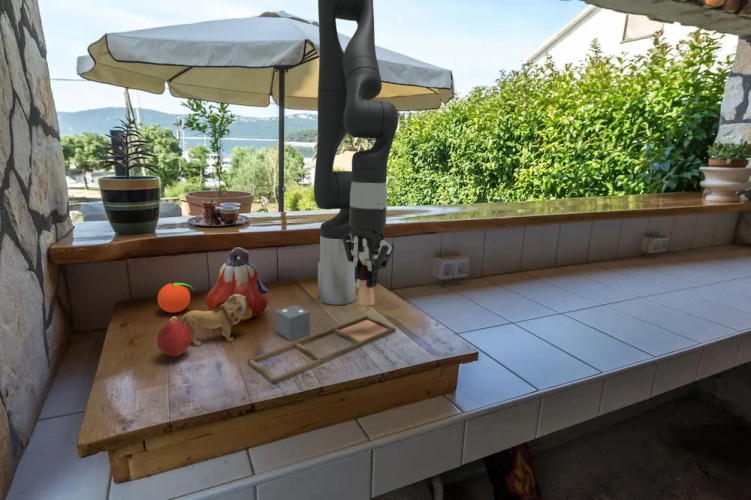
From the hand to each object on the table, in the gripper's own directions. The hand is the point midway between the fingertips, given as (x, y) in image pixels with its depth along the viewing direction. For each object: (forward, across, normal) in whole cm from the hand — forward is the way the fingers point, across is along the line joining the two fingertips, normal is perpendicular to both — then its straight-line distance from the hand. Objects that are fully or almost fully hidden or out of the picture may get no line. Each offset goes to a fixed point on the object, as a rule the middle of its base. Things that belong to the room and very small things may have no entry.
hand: (365, 284), depth 87 cm
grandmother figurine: (+5, 0, 0) cm, 5 cm away
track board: (+11, 0, -10) cm, 15 cm away
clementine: (+11, -37, -26) cm, 46 cm away
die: (+11, -10, -12) cm, 19 cm away
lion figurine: (+11, -18, -26) cm, 33 cm away
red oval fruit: (+11, -16, -34) cm, 39 cm away
